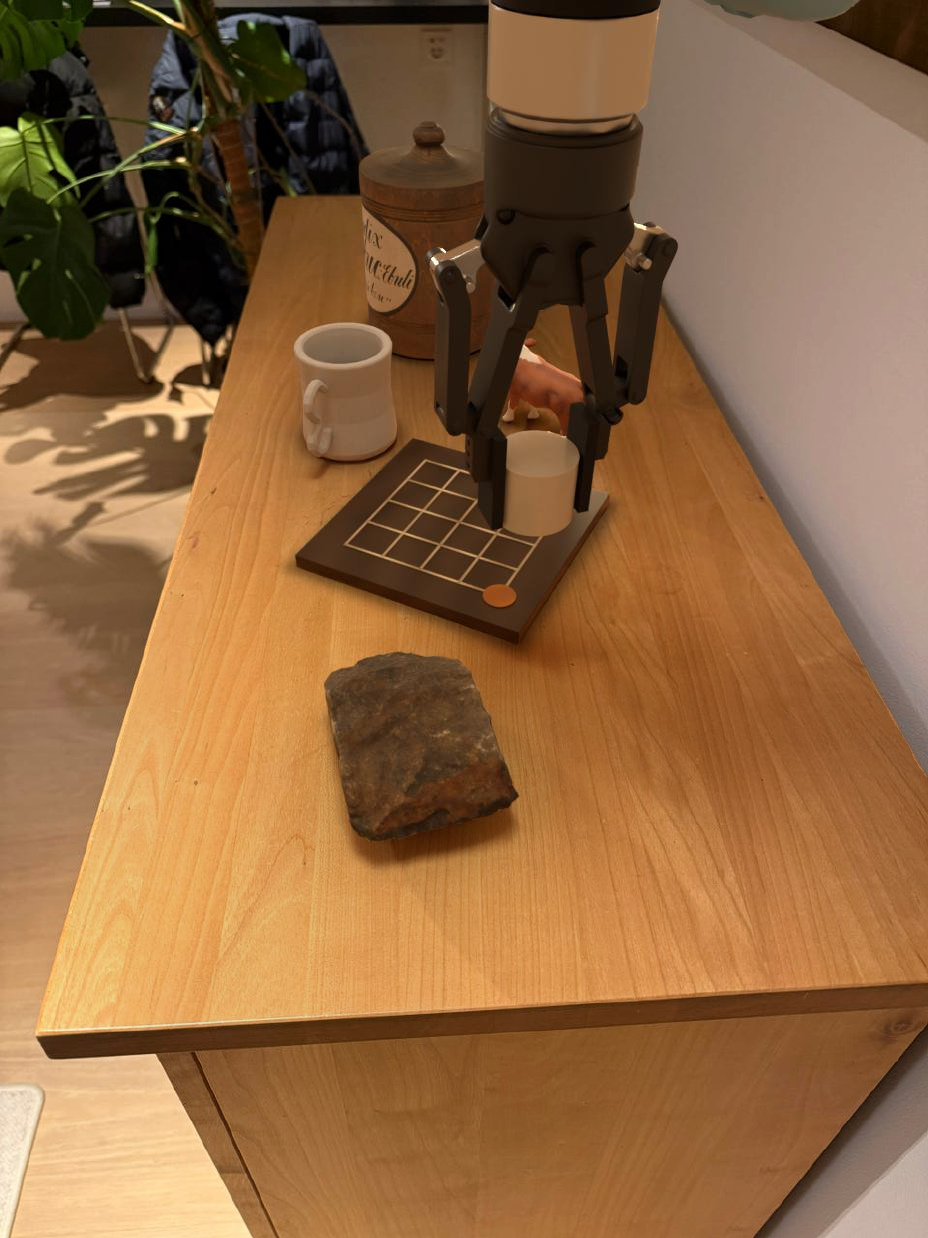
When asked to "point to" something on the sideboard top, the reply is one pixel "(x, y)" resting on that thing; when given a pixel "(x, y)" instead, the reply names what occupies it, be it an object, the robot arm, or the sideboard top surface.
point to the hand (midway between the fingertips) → (532, 507)
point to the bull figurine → (543, 388)
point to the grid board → (444, 545)
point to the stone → (414, 746)
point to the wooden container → (420, 235)
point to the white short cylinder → (539, 483)
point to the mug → (346, 391)
